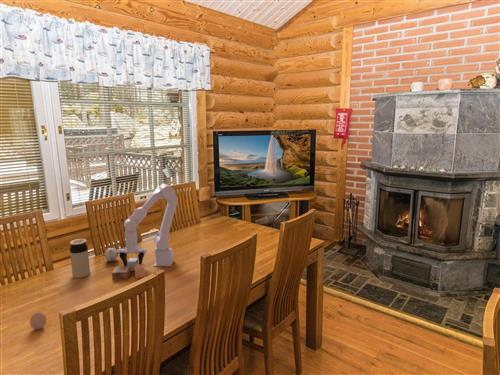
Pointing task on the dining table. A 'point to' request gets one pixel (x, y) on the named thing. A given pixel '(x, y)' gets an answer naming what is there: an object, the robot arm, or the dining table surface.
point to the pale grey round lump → (111, 254)
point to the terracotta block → (140, 270)
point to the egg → (38, 320)
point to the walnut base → (121, 272)
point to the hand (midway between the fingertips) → (133, 266)
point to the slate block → (132, 263)
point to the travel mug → (79, 258)
